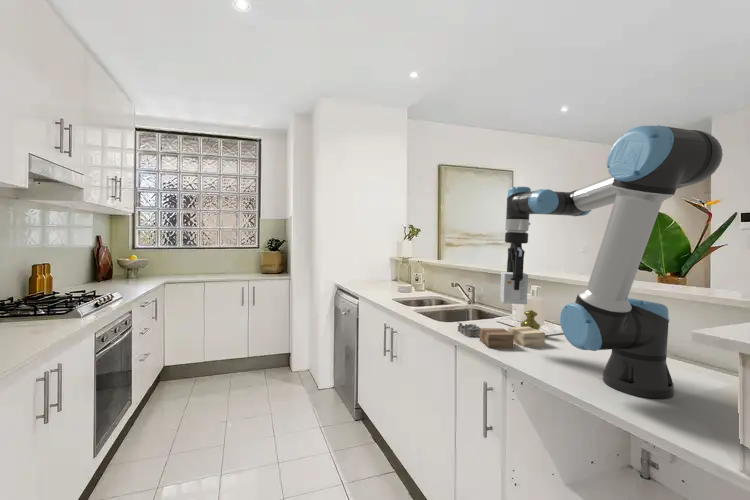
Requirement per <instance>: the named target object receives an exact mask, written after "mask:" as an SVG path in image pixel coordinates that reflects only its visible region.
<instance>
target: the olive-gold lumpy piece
mask: <svg viewBox="0 0 750 500" xmlns="http://www.w3.org/2000/svg"><path fill="white" fill-rule="evenodd" d="M523 314H524V315H525V316H526V318H525V319H524V321H522V322H520V327H531V328H534V329H536V330H539V331H541V330H540V328H541V324H540V323H539V322H538V321H536V319H535V317H537V316H538V312H537V311H534V310H531V309H528V310H526V311H524V313H523Z"/></svg>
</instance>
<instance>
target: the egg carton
mask: <svg viewBox="0 0 750 500" xmlns="http://www.w3.org/2000/svg"><path fill="white" fill-rule="evenodd" d="M457 323H458V326H457V332H460V334H461V335H462V334H463V336H464V337H469V338H470V337H472V336H473V337H479V338H480V328H481V327H480V326H479V325H477V324H476V323H473V324H472V323H469V324H467V323H465V324H463V323H462V322H460V321H457Z"/></svg>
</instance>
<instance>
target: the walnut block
mask: <svg viewBox="0 0 750 500" xmlns="http://www.w3.org/2000/svg"><path fill="white" fill-rule="evenodd" d="M479 342H480V343H482V344H483V345H484V344H485V345H486V346H485V345H484V346H485V347H487V348H488V349H514V344H515V343H514V335H513V334H512V333H510V332H508V329H505V328H496V327H495V328H494V327H493V328H492V327H491V328H490V327H480V336H479Z"/></svg>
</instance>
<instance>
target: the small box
mask: <svg viewBox="0 0 750 500" xmlns="http://www.w3.org/2000/svg"><path fill="white" fill-rule="evenodd" d="M500 274H501V275H500V293H499V295H500V296H499V297H500V298H499V300H500V301H501V303H502V304H509V305H511V304H512V305H527V304H528V287H529V286H528V285H529V274H527V273H525V272H523V279H522V280H521V284H520V300H519V299H511V288H512V280H511V278H513V272H507V271H501V273H500Z"/></svg>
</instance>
